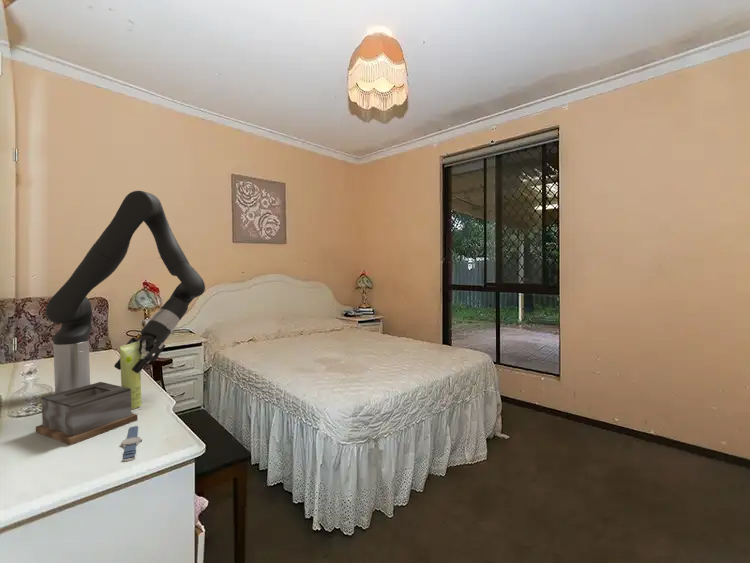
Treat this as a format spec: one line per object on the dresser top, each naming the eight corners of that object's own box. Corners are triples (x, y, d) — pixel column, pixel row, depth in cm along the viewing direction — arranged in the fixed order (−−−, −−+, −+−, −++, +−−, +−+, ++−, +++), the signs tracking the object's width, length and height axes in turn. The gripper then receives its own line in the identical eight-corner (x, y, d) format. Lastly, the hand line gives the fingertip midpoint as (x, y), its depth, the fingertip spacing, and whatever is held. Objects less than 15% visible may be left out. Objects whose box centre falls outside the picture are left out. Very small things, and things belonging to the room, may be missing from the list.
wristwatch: (117, 465, 81) (117, 460, 81) (125, 430, 98) (124, 426, 98) (140, 460, 83) (140, 455, 83) (143, 426, 100) (143, 422, 100)
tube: (141, 408, 112) (140, 344, 111) (121, 412, 109) (119, 346, 108) (141, 402, 117) (139, 340, 116) (121, 406, 114) (120, 342, 113)
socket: (35, 432, 96) (34, 397, 95) (103, 410, 110) (102, 380, 110) (70, 445, 89) (69, 408, 89) (137, 419, 104) (136, 388, 103)
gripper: (138, 317, 121) (101, 360, 112) (167, 320, 115) (131, 366, 106) (154, 331, 127) (120, 373, 117) (183, 334, 121) (150, 379, 111)
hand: (125, 370), depth 111 cm, fingers open, 8 cm apart
